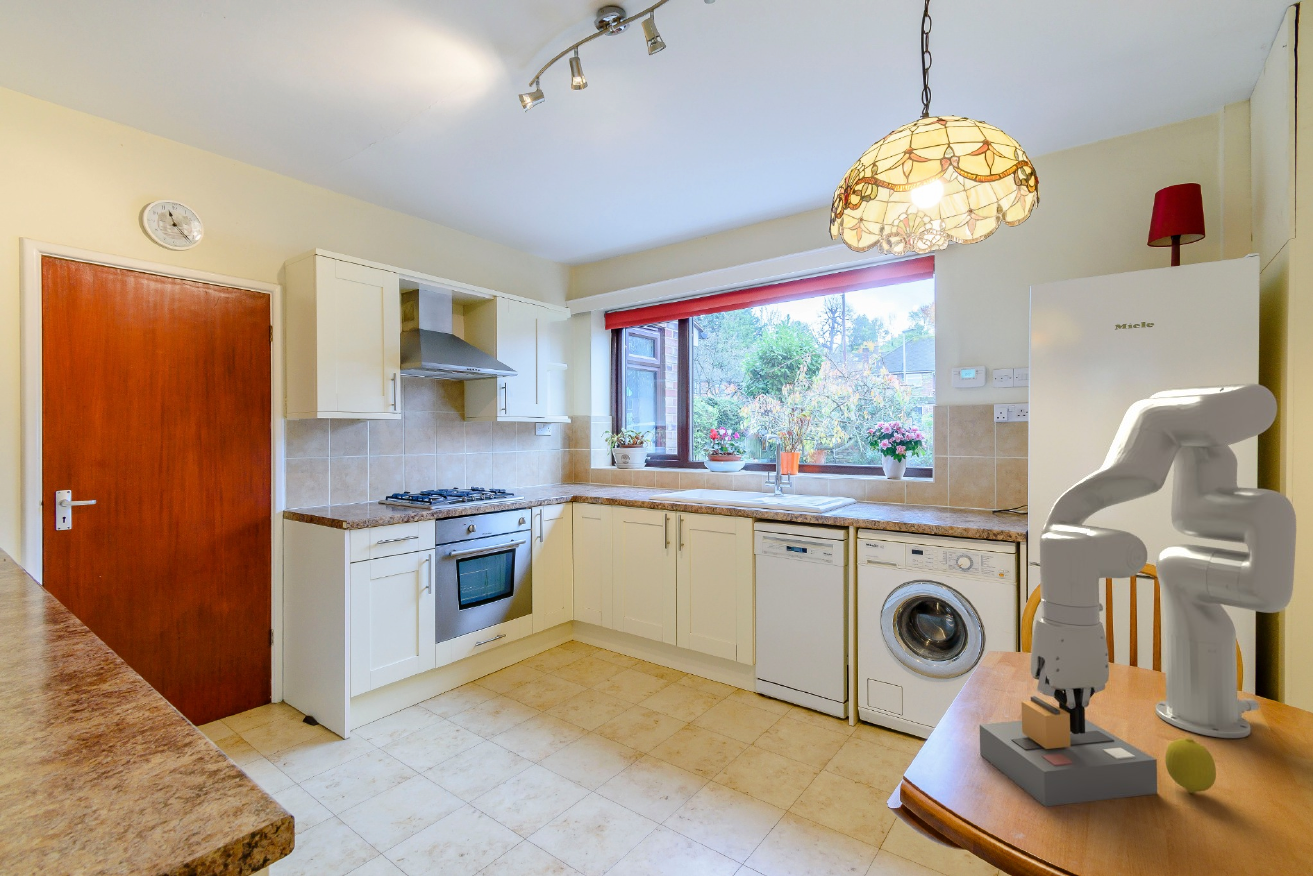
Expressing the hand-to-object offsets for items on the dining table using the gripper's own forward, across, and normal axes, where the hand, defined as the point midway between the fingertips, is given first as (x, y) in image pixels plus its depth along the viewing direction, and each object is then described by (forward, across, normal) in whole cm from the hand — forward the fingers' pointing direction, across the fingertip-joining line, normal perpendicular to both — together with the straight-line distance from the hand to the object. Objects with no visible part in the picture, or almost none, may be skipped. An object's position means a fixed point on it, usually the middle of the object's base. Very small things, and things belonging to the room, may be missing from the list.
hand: (1072, 729), depth 94 cm
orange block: (+1, +5, 0) cm, 5 cm away
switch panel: (+7, +2, 0) cm, 7 cm away
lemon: (+7, -12, +8) cm, 16 cm away
